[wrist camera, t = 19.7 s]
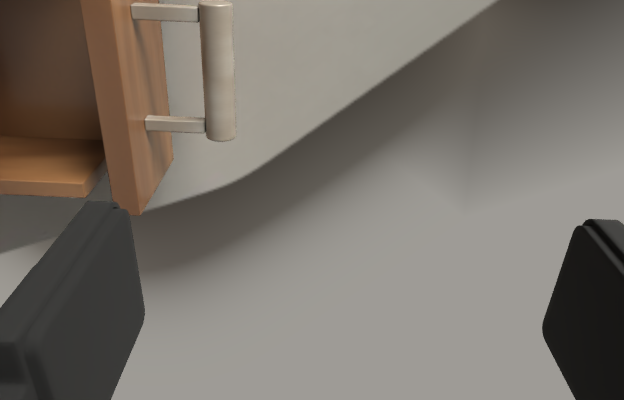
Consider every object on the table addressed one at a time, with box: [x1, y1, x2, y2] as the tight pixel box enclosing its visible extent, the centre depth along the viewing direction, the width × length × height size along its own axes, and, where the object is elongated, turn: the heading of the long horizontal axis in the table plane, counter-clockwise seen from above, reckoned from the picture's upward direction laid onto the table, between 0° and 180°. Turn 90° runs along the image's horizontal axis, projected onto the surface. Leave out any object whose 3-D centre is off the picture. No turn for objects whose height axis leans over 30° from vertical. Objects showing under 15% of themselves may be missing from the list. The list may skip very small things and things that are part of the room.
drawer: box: [0, 0, 236, 216], centre depth 24 cm, size 18×12×6 cm
